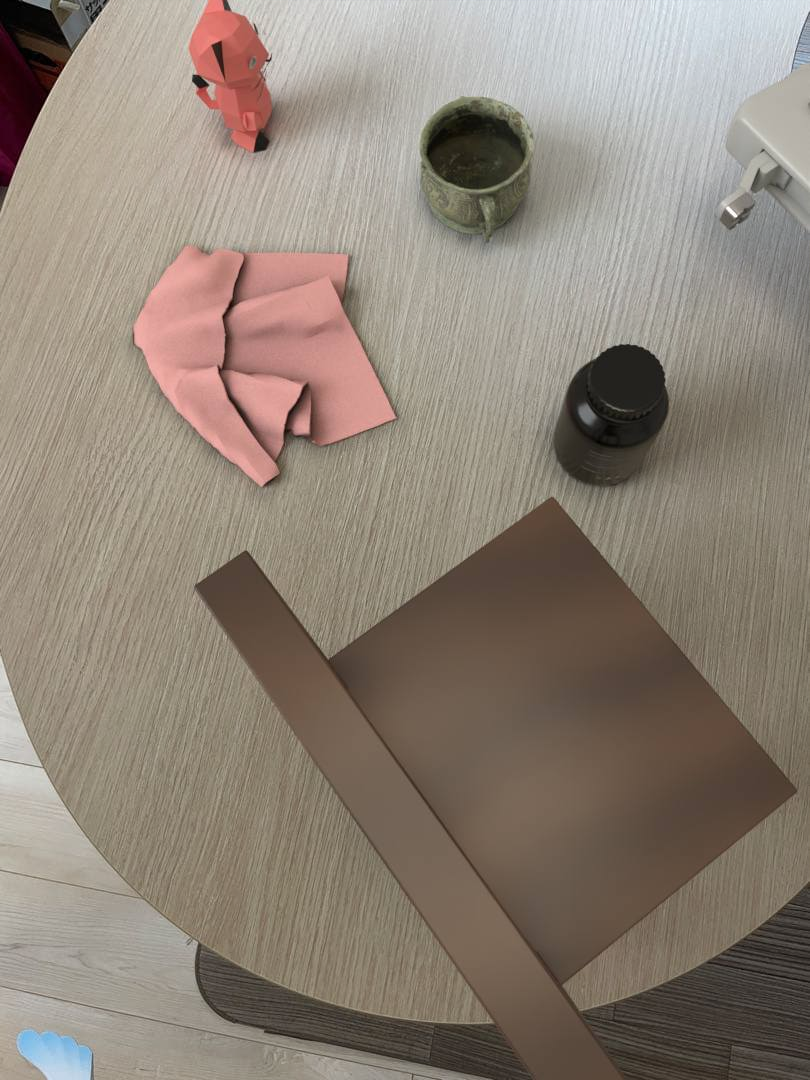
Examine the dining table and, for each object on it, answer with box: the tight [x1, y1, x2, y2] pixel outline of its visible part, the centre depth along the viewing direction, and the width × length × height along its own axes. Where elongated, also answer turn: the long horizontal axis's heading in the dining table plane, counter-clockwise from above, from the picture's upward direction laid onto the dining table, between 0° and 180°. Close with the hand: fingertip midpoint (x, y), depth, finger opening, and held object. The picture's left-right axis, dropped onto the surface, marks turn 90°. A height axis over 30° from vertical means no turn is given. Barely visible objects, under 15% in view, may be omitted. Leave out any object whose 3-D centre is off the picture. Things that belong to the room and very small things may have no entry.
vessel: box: [418, 95, 535, 244], centre depth 74 cm, size 12×9×6 cm
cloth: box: [131, 245, 397, 488], centre depth 72 cm, size 20×22×2 cm
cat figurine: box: [188, 0, 273, 154], centre depth 74 cm, size 7×7×12 cm
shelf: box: [193, 496, 798, 1080], centre depth 43 cm, size 16×14×44 cm
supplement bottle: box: [553, 343, 670, 487], centre depth 65 cm, size 7×7×12 cm
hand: (773, 268), depth 61 cm, fingers open, 8 cm apart
